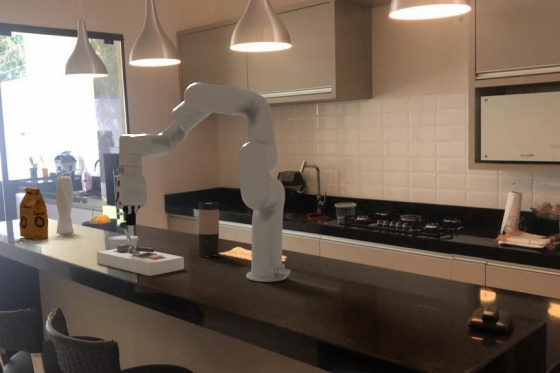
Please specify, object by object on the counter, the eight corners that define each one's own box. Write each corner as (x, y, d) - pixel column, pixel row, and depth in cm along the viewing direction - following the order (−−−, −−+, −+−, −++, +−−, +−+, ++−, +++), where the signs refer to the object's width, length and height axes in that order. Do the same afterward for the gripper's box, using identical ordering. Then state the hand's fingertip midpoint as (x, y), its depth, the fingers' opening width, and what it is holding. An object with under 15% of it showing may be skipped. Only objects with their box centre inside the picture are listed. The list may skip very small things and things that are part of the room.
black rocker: (153, 252, 193) (154, 248, 193) (141, 251, 189) (141, 247, 189) (148, 251, 195) (148, 247, 195) (135, 250, 191) (136, 246, 191)
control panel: (183, 269, 190) (183, 251, 190) (149, 275, 179) (149, 257, 179) (130, 257, 209) (130, 241, 208) (96, 263, 198) (96, 246, 197)
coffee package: (28, 241, 241) (28, 189, 240) (17, 237, 250) (16, 187, 249) (52, 238, 249) (51, 188, 247) (39, 235, 257) (39, 186, 256)
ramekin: (106, 249, 226) (105, 236, 225) (134, 247, 231) (134, 234, 230) (111, 254, 216) (111, 240, 215) (141, 252, 221) (141, 238, 220)
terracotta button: (166, 265, 188) (166, 256, 188) (155, 267, 185) (155, 257, 185) (157, 263, 191) (157, 254, 191) (146, 265, 188) (146, 256, 188)
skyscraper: (64, 231, 272) (63, 172, 270) (77, 231, 270) (77, 172, 268) (52, 233, 264) (52, 172, 262) (66, 234, 262) (65, 173, 260)
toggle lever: (139, 250, 196) (127, 220, 191) (134, 254, 194) (121, 224, 190) (135, 250, 197) (122, 220, 193) (130, 253, 196) (117, 223, 191)
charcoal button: (132, 253, 200) (132, 244, 200) (122, 255, 196) (121, 246, 196) (125, 252, 203) (125, 243, 202) (114, 254, 199) (114, 244, 199)
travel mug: (215, 258, 210) (215, 203, 209) (195, 257, 211) (195, 203, 210) (221, 254, 217) (221, 201, 216) (202, 253, 219) (202, 201, 218)
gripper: (118, 172, 185) (118, 228, 186) (155, 171, 196) (155, 224, 198) (104, 171, 189) (105, 226, 191) (141, 170, 201) (141, 222, 202)
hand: (130, 225), depth 194 cm, fingers closed
